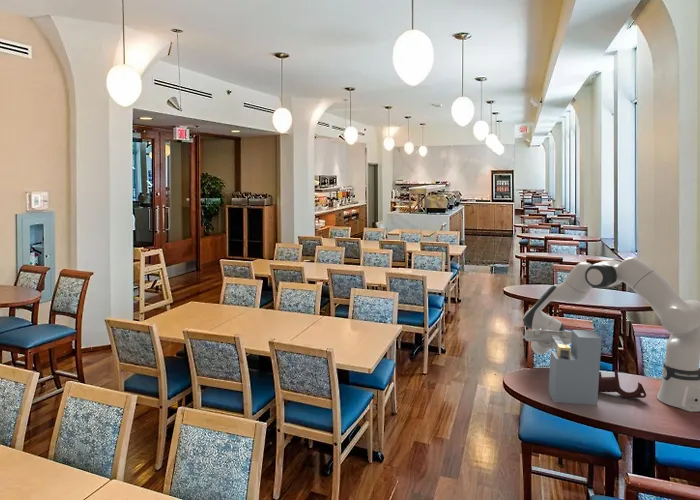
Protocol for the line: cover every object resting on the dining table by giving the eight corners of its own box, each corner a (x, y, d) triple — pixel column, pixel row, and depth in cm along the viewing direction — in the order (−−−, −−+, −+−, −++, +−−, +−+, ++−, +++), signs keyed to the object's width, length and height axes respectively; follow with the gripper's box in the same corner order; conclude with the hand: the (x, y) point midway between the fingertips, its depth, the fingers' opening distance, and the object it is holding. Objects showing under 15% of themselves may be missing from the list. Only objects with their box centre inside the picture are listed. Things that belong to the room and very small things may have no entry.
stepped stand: (589, 394, 203) (593, 330, 200) (597, 404, 194) (601, 338, 190) (548, 391, 206) (552, 328, 203) (554, 401, 196) (557, 336, 193)
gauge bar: (559, 342, 214) (560, 333, 214) (570, 358, 195) (570, 348, 194) (549, 342, 215) (549, 332, 215) (558, 357, 196) (559, 347, 195)
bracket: (646, 397, 194) (641, 368, 197) (594, 398, 202) (590, 370, 205) (646, 398, 199) (641, 370, 202) (595, 398, 207) (592, 371, 210)
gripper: (521, 331, 234) (526, 323, 222) (568, 333, 231) (576, 325, 218) (522, 344, 232) (527, 337, 219) (569, 347, 228) (577, 340, 216)
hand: (552, 331), depth 219 cm, fingers open, 8 cm apart
